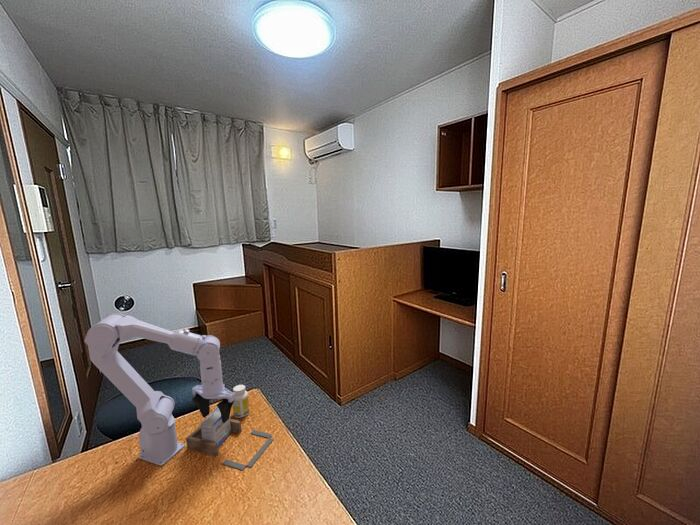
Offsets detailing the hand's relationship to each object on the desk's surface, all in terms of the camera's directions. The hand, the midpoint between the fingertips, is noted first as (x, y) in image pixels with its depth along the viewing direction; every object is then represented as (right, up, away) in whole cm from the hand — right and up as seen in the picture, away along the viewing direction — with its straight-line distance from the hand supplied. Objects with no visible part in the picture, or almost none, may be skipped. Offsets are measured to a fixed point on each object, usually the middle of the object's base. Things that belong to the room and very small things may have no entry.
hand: (215, 418), depth 92 cm
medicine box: (0, -8, +1) cm, 8 cm away
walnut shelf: (-1, -7, +1) cm, 8 cm away
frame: (+11, -8, -3) cm, 14 cm away
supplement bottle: (+3, -6, +14) cm, 15 cm away
